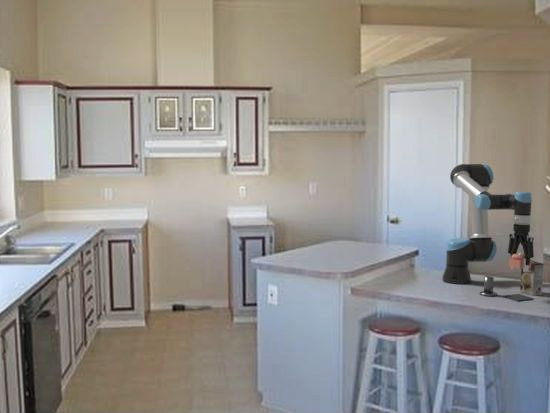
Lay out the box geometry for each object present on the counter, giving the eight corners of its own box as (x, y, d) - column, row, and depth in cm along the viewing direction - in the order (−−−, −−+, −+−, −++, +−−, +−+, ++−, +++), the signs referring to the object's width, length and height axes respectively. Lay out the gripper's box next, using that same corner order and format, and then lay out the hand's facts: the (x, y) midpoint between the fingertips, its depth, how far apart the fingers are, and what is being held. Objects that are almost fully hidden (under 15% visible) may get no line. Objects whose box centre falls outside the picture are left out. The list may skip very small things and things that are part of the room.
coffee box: (519, 291, 330) (520, 260, 328) (529, 290, 332) (531, 259, 331) (532, 295, 322) (533, 264, 320) (542, 294, 324) (544, 263, 322)
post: (476, 293, 325) (477, 276, 324) (489, 292, 328) (489, 274, 327) (487, 297, 318) (488, 279, 317) (500, 295, 321) (500, 278, 320)
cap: (508, 266, 316) (509, 252, 316) (520, 265, 319) (520, 251, 318) (519, 268, 310) (520, 254, 309) (530, 267, 312) (531, 254, 312)
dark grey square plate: (502, 296, 319) (503, 295, 319) (518, 295, 323) (518, 293, 323) (517, 301, 310) (517, 300, 310) (533, 299, 313) (533, 298, 313)
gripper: (501, 221, 320) (499, 266, 322) (531, 226, 302) (529, 274, 304) (512, 220, 323) (510, 265, 325) (543, 225, 304) (541, 273, 307)
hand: (519, 269), depth 314 cm, fingers closed on cap, 7 cm apart
